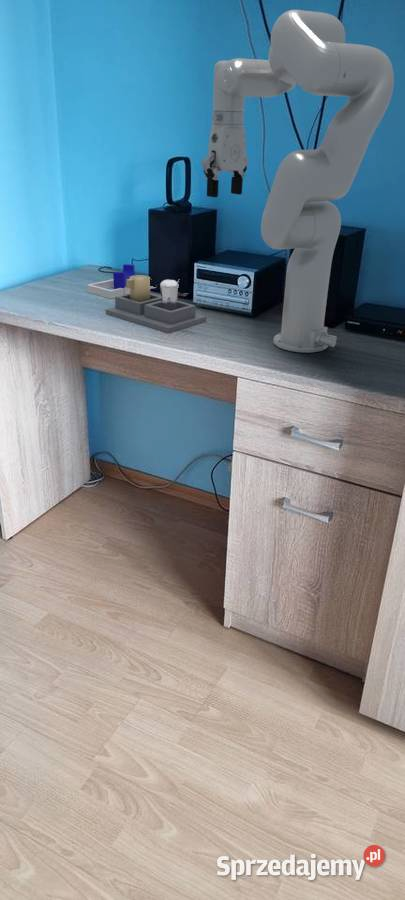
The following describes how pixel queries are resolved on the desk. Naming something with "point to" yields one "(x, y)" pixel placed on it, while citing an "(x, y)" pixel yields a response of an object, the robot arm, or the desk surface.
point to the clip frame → (102, 290)
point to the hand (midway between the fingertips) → (224, 195)
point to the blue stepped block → (123, 276)
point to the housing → (152, 308)
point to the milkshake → (169, 294)
